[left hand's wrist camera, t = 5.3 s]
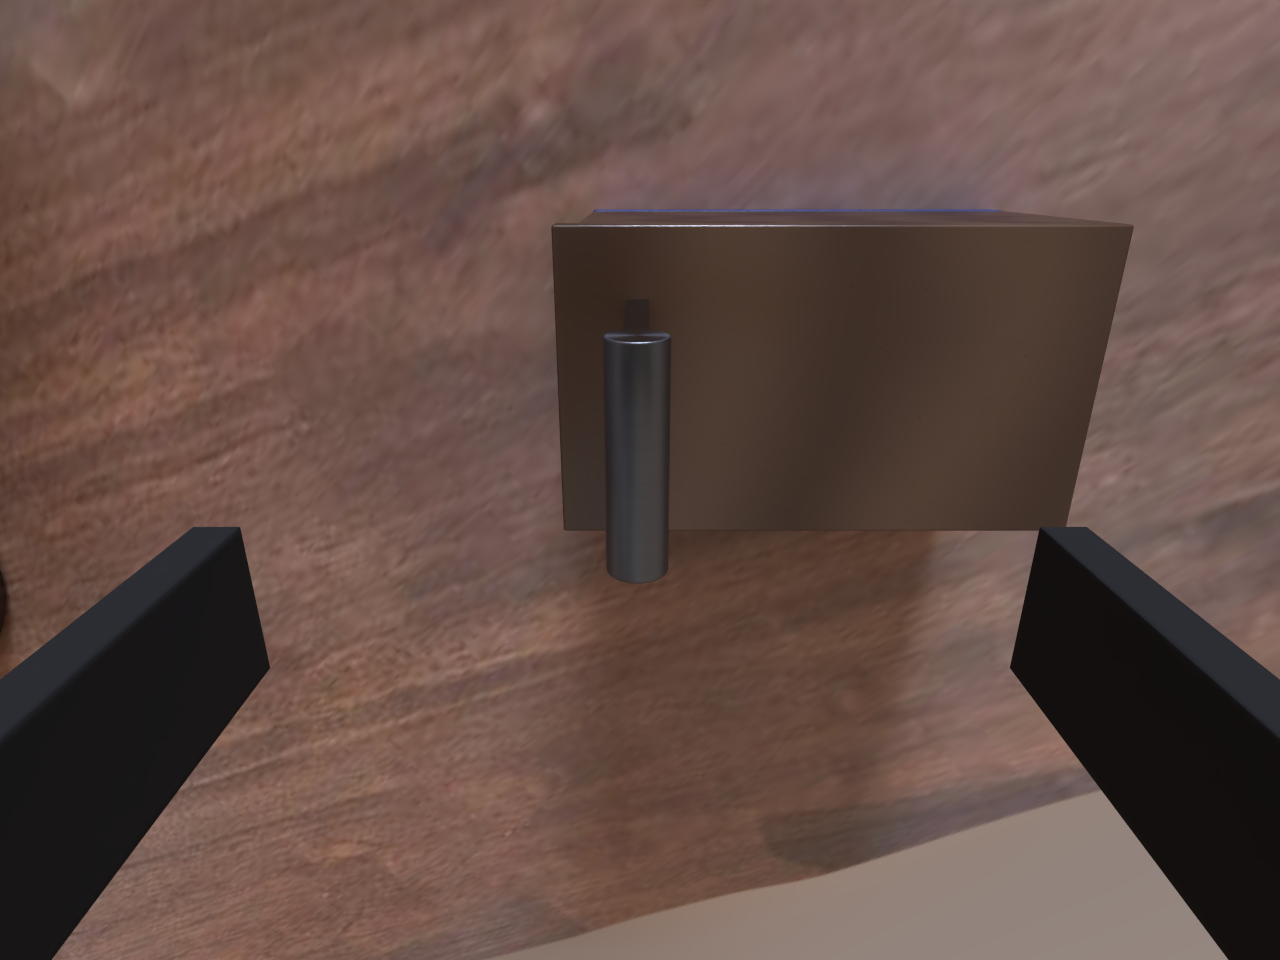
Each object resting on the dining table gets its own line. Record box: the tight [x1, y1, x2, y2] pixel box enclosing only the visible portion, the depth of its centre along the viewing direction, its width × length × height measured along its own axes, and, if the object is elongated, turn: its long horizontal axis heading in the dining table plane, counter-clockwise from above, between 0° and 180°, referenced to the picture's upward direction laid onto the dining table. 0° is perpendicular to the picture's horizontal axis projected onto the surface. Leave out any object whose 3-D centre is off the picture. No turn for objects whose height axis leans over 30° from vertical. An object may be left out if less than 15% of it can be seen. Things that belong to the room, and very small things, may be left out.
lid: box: [552, 223, 1134, 583], centre depth 22 cm, size 18×10×8 cm, turn 90°
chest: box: [581, 210, 1112, 223], centre depth 31 cm, size 17×10×9 cm, turn 90°
